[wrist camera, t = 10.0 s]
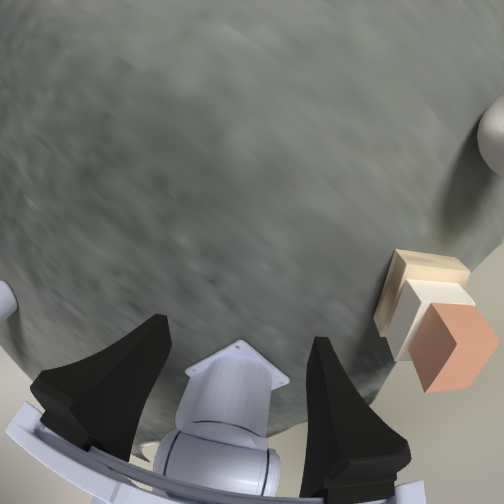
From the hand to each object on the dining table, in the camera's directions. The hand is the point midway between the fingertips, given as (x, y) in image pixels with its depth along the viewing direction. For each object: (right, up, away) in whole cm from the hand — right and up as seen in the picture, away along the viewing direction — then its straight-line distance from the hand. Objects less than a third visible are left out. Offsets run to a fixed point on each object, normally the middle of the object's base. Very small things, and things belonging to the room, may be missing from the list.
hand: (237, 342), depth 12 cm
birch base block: (+16, +1, +9) cm, 18 cm away
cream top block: (+15, -1, +7) cm, 16 cm away
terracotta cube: (+15, -1, +3) cm, 15 cm away
